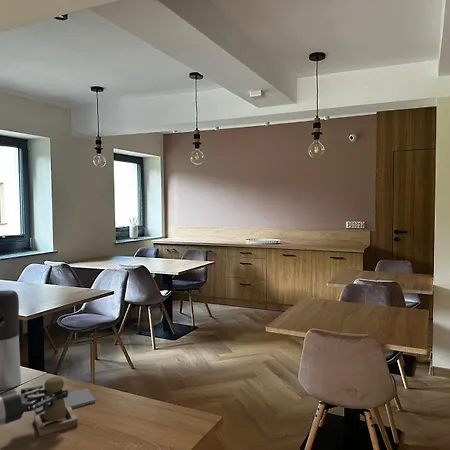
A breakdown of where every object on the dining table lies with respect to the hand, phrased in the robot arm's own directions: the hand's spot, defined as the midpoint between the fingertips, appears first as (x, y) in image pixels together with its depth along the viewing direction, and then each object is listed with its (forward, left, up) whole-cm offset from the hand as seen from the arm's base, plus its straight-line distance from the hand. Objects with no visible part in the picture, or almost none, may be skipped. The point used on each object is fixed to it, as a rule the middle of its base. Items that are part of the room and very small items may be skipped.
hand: (63, 390), depth 124 cm
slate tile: (-10, +5, -9) cm, 14 cm away
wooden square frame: (+1, -3, -9) cm, 9 cm away
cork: (0, -3, -7) cm, 7 cm away
